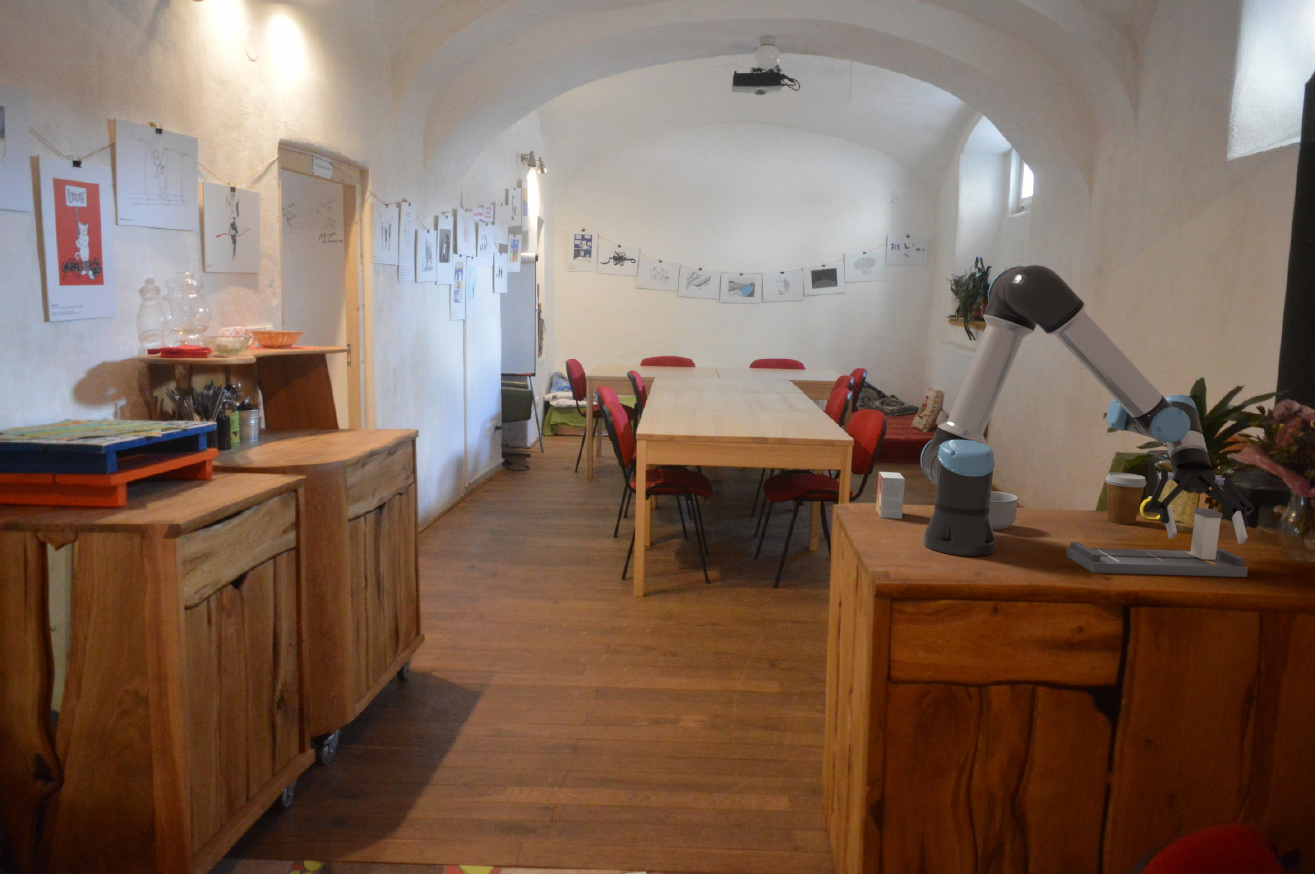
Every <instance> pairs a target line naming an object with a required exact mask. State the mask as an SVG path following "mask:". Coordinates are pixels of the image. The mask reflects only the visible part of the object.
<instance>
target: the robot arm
mask: <svg viewBox="0 0 1315 874" xmlns="http://www.w3.org/2000/svg"><path fill="white" fill-rule="evenodd" d="M987 301H988V303H987V305H986V308H985V311H984V313H983V315H982V317H983V319H984V321H985V328H984V331H983V333H982V335H981V338H980V340H979V342H978V344H977V347H976V351H975V353H974V354H973V357H972V360H971V363H970V365H969V367H968V369H967V371H966V374H965V377H964V380H963V382H962V384H961V387H960V388H959V392H958V393H957V396H956V398H955V401H954V403H953V406H952V409H951V411H950V413H949V415H948V418H947V420H946V421H945V422H943V423H941V424H938V425H937V427H936V430H935V432H934V434H933V437H932V439H931V440H929V441H928V442H927V443H926V444H925V445H924V447H923V449H922V451H921V454H920V467H921V469H922V472H923V474H924V475H925V478H926V479H927V480H928V481H929V482H930V483H931V484H933V485H934V486H935V498H934V510H933V513H932V515H931V518H930V521H929V522H928V525H927V527H926V529H925V532H924V537H923V544H924V546H925V547H927V548H928V549H931V550H934V551H936V552H940V553H945V554H949V555H955V556H966V557H967V556H969V557H979V556H981V557H982V556H987V555H991V554H994V553H995V551H996V550H995V549H996V539H995V535H994V529H992V526H991V522H990V518H989V510H990V500H991V491H992V487H993V485H992V484H993V478H994V477H993V476H994V468H995V453H994V451H993V448H992V447H990V446H989V445H987V442H986V439H985V437H984V432H985V430H986V428H987V425H988V424H989V420H990V419H991V416H992V414H993V411H994V409H995V407H996V404H997V402H998V400H999V397H1000V395H1001V391H1002V390H1003V387H1004V385H1005V384H1006V383H1005V382H1006V380H1007V377H1008V375H1009V373H1010V371H1011V368H1012V366H1013V364H1014V361H1015V359H1016V356H1017V354H1018V351H1019V349H1020V347H1021V345H1022V342H1023V341H1024V338H1026V337H1027V336H1029V335H1031V334H1033V333H1034V331H1035V328H1036V327H1037V326H1038V327H1040V328H1041V329H1042V330H1043V331H1044V333H1045V334H1047V335H1054V336H1055V337H1056V338H1057V339H1058V340H1059V341H1060V342H1061V343H1062V344H1063V345H1064V347H1066V349H1067V350H1068V351H1069V352H1070V353H1071V354H1072V355H1073V356H1074V357H1075V358H1076V359H1077V360H1078V362H1079V363H1080V364H1081V365H1082V366H1083V367H1084V368H1085V369H1086V370H1087V371H1088V372H1089V373H1090V375H1092V376H1093V377H1094V378H1095V379H1096V381H1097V382H1098V383H1099V384H1100V385H1101V386H1102V387H1103V388H1104V389H1105V391H1107V392H1108V394H1109V395H1110V396H1111V397H1112V398H1113V399H1112V400H1111V401H1110V403H1109V405H1108V407H1107V411H1106V422H1107V425H1108V426H1109V427H1110V428H1111V429H1114V430H1118V431H1122V432H1124V431H1125V432H1131V433H1135V434H1138V435H1141V436H1145V437H1148V438H1151V439H1154V440H1156V441H1158V442H1164V443H1165V444H1166V448H1167V453H1168V457H1169V461H1170V467H1171V470H1172V471H1171V472H1169V471H1168V469H1167V468H1161V471H1159V472H1160V473H1159V474H1158V476H1157V481H1158V483H1157V485H1156V488H1155V490H1154V492H1153V493H1152V498H1151V500H1150V501H1149V502H1148V503H1147V504H1148V505H1147V507H1148V508H1149V509H1151V510H1153V509H1155V510H1156V513H1157V514H1158V515H1160V519H1159V520H1160V522H1161V523H1162V524H1165V528H1166V532H1167V536H1168V539H1169V540H1173V539H1174V538H1175V536H1176V535H1177V533H1178V530H1177V526H1176V521H1175V515H1174V512H1173V508H1172V506H1170V505H1171V504H1172V502H1173V501H1175V499H1176V498H1177V497H1178V496H1179V495H1180V494H1181V493H1182V492H1183V491H1184V492H1186V493H1189V494H1193V493H1195V494H1201V495H1202V494H1205V495H1206V496H1208V497H1210V498H1213V499H1214V500H1215V501H1216V502H1217V503H1218V504H1220V505H1221V506H1223V507H1224V508H1225V509H1226V510H1227V511H1228V512H1230V513H1231V514H1232V517H1231V519H1232V524H1233V527H1234V532H1235V535H1236V539H1237V542H1238V543H1237V544H1238V545H1243V544H1244V543H1245V541H1246V540H1247V539H1248V538H1249V537H1248V533H1247V527H1248V526H1249V522H1248V519H1247V516H1249V515H1250V514H1251V513H1252V512H1253V510H1254V509H1255V506H1254V505H1253V504H1252V503H1251V502H1250V500H1248V498H1247V497H1246V496H1245V495H1244V494H1243V493H1242V491H1241V490H1240V489H1239V488H1238V487H1237V486H1236V484H1234V482H1233V481H1232V479H1231V476H1230V474H1229V473H1228V472H1223V473H1222V475H1221V474H1220V475H1219V474H1218V475H1217V474H1216V475H1215V474H1214V473H1213V472H1212V465H1211V460H1210V456H1209V454H1208V449H1207V445H1206V442H1205V437H1204V434H1203V433H1204V432H1203V430H1202V429H1203V428H1202V424H1201V420H1200V413H1199V410H1198V408H1197V406H1196V403H1195V401H1194V399H1192V398H1191V397H1190V396H1188V395H1186V394H1176V395H1169V396H1168V395H1167V396H1166V397H1164V396H1163V395H1162V394H1161V392H1159V390H1158V389H1157V388H1156V387H1155V386H1154V385H1153V384H1152V383H1151V381H1150V380H1149V379H1148V378H1147V377H1146V376H1145V375H1144V374H1143V373H1142V371H1140V369H1139V368H1137V366H1136V365H1135V364H1134V363H1133V362H1132V361H1131V360H1130V359H1129V357H1128V356H1126V354H1125V353H1123V351H1122V350H1121V349H1120V347H1118V346H1117V345H1116V344H1115V342H1113V340H1112V339H1111V338H1110V337H1109V336H1108V335H1107V333H1105V331H1104V330H1103V329H1102V328H1101V327H1100V326H1099V325H1098V324H1097V323H1096V322H1095V321H1094V320H1093V319H1092V318H1091V316H1090V315H1089V314H1087V312H1086V311H1085V308H1086V304H1085V303H1084V301H1083V300H1082V299H1081V298H1080V297H1079V296H1078V295H1077V294H1076V293H1075V291H1074V290H1073V289H1072V288H1071V286H1069V285H1068V283H1067V282H1066V281H1065V280H1064V279H1063V278H1062V277H1061V276H1060V274H1058V273H1057V272H1056V271H1054V270H1052V269H1051V268H1048V267H1046V266H1043V265H1039V264H1038V265H1037V264H1033V265H1031V264H1030V265H1026V266H1023V265H1022V266H1021V265H1020V266H1019V265H1018V266H1013V267H1010V268H1007V269H1005V270H1003V271H1002V272H999V274H998V275H996V276H995V278H993V280H992V281H991V283H990V284H989V288H988V291H987ZM1131 412H1132V413H1131ZM1148 415H1150V416H1148ZM1134 425H1137V426H1134ZM1145 428H1148V429H1149V430H1147V429H1145ZM1170 480H1172V481H1173V482H1174V483H1175V484H1176V486H1175V487H1174V488H1173V489H1172V490H1171V491H1170V492H1169V494H1168V495H1167V496H1166V497H1164V498H1163V500H1161V501H1162V502H1160V501H1158V500H1159V498H1160V499H1161V495H1162V493H1163V491H1164V489H1165V486H1166V484H1167V483H1169V482H1170ZM1210 488H1211V489H1210Z"/></svg>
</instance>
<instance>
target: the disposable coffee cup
mask: <svg viewBox="0 0 1315 874" xmlns="http://www.w3.org/2000/svg"><path fill="white" fill-rule="evenodd" d="M1104 480H1105V483H1106V499H1107V500H1106V503H1107V520H1108V522H1111V523H1114V524H1118V525H1119V524H1120V525H1135V524H1136V522H1137V517H1138V513H1139V510H1140V505H1141V503H1142V497H1143V494H1144V489H1145V487H1146V485H1147V483H1148V482H1147V480H1146V477H1145V476H1143V475H1139V474H1135V473H1127V472H1109V473H1107V475H1106V477H1105V478H1104Z"/></svg>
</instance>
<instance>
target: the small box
mask: <svg viewBox="0 0 1315 874" xmlns="http://www.w3.org/2000/svg"><path fill="white" fill-rule="evenodd" d="M877 478H878V479H877V490H876V505H875V511H876V513H877V514H878V516H879V518H880V519H895V520H902V519H903V513H904V512H903V511H904V497H905V496H904V495H905V486H906V485H905V484H906V479H905V478H906V477H905V478H904V476H903V475H902V474H901V472H891V471H890V472H889V471H878V477H877Z"/></svg>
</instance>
